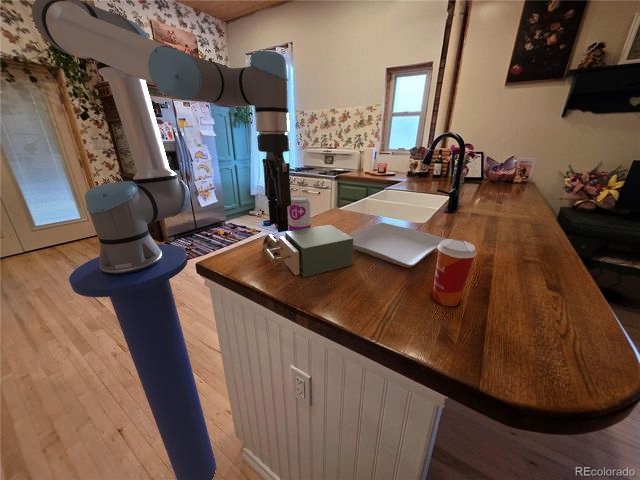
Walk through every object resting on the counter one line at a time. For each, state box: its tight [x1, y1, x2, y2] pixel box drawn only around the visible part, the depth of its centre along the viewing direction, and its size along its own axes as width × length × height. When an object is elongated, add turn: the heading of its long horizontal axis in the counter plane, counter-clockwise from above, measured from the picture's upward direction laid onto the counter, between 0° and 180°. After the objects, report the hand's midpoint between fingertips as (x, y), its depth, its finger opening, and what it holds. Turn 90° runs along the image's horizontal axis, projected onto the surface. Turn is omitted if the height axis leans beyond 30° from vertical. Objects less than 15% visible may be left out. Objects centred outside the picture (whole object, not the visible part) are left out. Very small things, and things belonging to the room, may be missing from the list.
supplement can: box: [288, 195, 312, 231], centre depth 94 cm, size 8×8×15 cm
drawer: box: [263, 235, 303, 276], centre depth 74 cm, size 20×12×7 cm, turn 117°
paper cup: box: [432, 238, 478, 307], centre depth 58 cm, size 8×8×14 cm
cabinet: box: [284, 224, 354, 278], centre depth 76 cm, size 16×14×9 cm
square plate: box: [347, 222, 447, 269], centre depth 86 cm, size 27×27×4 cm
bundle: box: [262, 234, 280, 256], centre depth 84 cm, size 7×5×5 cm
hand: (278, 227), depth 68 cm, fingers open, 6 cm apart
